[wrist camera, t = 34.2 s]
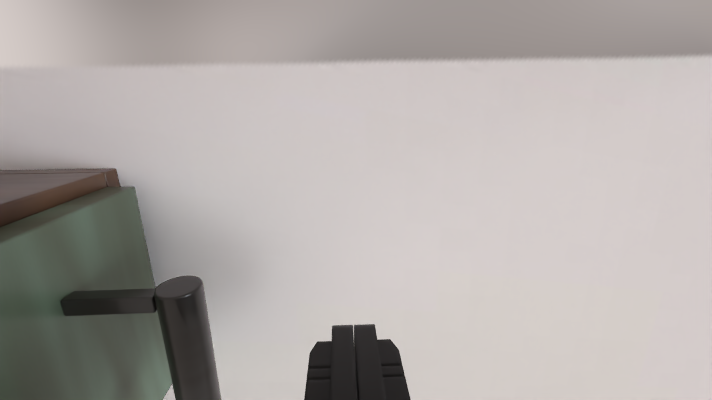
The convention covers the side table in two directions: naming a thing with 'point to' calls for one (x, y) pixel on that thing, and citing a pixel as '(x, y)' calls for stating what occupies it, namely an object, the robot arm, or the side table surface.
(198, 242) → the side table surface
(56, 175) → the cabinet
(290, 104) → the side table surface
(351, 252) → the side table surface
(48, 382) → the drawer
